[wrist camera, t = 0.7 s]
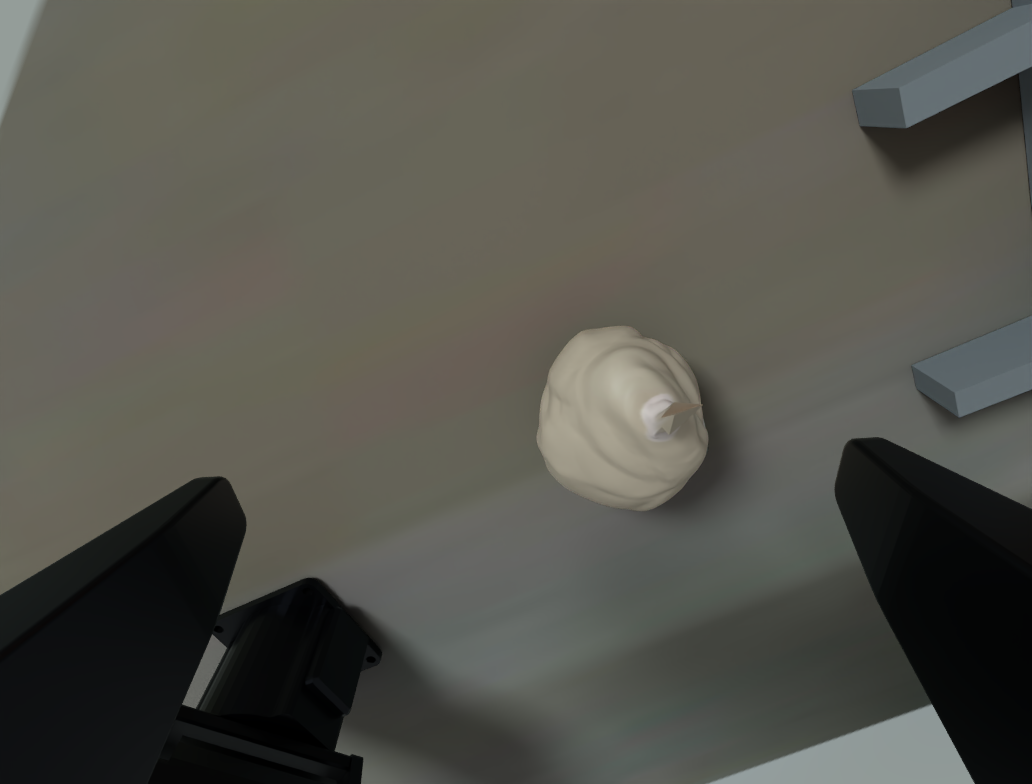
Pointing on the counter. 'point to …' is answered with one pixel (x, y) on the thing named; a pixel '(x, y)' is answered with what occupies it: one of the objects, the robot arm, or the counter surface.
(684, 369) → the garlic bulb
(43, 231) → the counter surface
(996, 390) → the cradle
